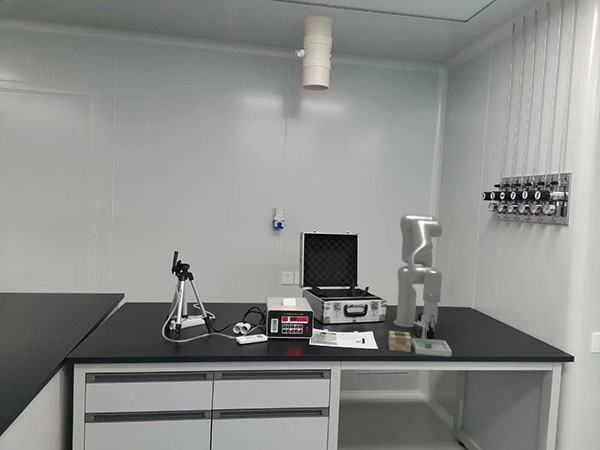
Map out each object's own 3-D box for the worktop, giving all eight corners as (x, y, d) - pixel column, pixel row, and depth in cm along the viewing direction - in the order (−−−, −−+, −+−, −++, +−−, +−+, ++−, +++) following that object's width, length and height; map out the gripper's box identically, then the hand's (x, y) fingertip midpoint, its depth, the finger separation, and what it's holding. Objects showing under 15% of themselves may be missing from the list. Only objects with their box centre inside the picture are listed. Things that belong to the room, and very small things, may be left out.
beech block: (388, 343, 209) (389, 330, 209) (408, 345, 208) (409, 332, 208) (389, 350, 200) (390, 336, 200) (410, 351, 199) (411, 338, 199)
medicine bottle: (412, 336, 222) (414, 312, 222) (424, 335, 225) (426, 311, 224) (421, 340, 216) (422, 316, 215) (433, 339, 218) (435, 315, 217)
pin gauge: (424, 345, 205) (426, 319, 204) (431, 346, 205) (433, 319, 204) (425, 347, 202) (427, 321, 201) (432, 348, 202) (434, 321, 201)
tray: (411, 343, 212) (412, 338, 212) (444, 345, 210) (445, 340, 210) (415, 353, 197) (416, 348, 197) (451, 356, 195) (451, 351, 195)
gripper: (420, 293, 211) (418, 332, 212) (425, 300, 194) (423, 342, 196) (437, 294, 210) (434, 333, 211) (443, 302, 194) (441, 344, 195)
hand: (429, 337), depth 203 cm, fingers closed on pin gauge, 3 cm apart
